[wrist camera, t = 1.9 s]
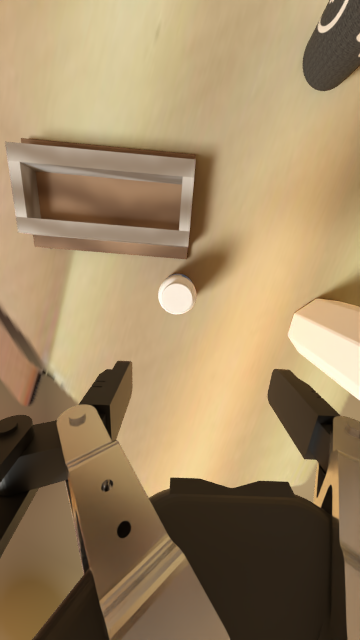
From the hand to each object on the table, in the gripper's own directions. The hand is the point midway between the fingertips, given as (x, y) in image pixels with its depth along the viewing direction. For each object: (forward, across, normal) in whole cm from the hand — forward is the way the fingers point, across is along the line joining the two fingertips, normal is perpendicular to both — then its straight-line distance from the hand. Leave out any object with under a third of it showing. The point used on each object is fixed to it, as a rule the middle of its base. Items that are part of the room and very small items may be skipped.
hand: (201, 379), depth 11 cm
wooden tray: (+25, +12, -14) cm, 31 cm away
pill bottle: (+25, +2, -2) cm, 25 cm away
